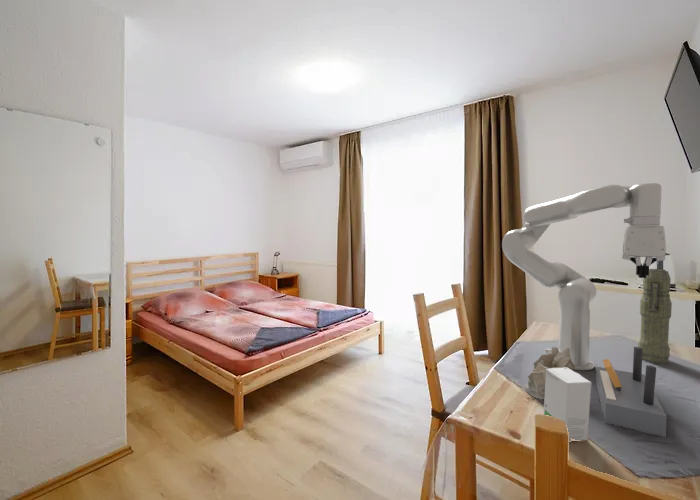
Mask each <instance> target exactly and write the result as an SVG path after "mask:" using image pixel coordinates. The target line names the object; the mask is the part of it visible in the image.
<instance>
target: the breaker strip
mask: <svg viewBox="0 0 700 500" xmlns="http://www.w3.org/2000/svg"><path fill="white" fill-rule="evenodd" d="M614 370H615V372H616V374H617V376H618V378H619V380H620V383H621V386H622V387H621V390H620V391H619V390H618V388H617V387H616V388H615V386H614V384H613V382H612V380H611V379H610V377H609V375H608V373H607V371H606V369H605V367H601V366H600V367H599V366H596V379H595V380H596V388H597V391H598V396H599V401H600V405H601V411H602V415H604V416H603V420H604V423H605V424H608V423H609V425H612V424H614V425H613V426H617V425H618V426H617V427H621V426H623V427H622V428H625V427H627V428H626V429H629V428H630V430H633V429H634V431H638V432H643V433H647V434H651V435H653V436H654V435H655V436H659V437H663V438H666V436H667V418H668V417H667V414H666V412H665V410H664V408H663V407H662V405H661V403H660V400H659V399H658V397H657V395H656V394H655V393H654V402H653V405H648V404H645V403H644V402H643V398H644V385H645V374H642V377H641V381H635V380H633V372H630V371H625V370H618V369H614Z"/></svg>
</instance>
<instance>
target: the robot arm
mask: <svg viewBox="0 0 700 500" xmlns="http://www.w3.org/2000/svg"><path fill="white" fill-rule="evenodd" d="M625 207H626V208H627V207H629V217H628V218H624V219H623V223H624V224H628V226H626V229H625V231H624V236H623V237H624V238H623V243H622V244H623V245H622V256H621V258H622V259H623V260H627V261H630V262H632V263H633V264H634V265H635V266H636V267H635V275H636V276H637V277H638V278H639V279H643V278H646V275H648V276H649V269H650V266H651V265H653V264H654V263H655V262H659V261H660V262H661V261H665V260H666V256H665V255H666V251H667V245H666V231H665V226H664V225H661V213H662V212H661V208H662V186H661V184H659V183H657V182H650V183H649V182H647V183H639V184H634V185H632V186H629V185H628V186H627V185H626V186H624V185H620V184H609V185H604V186H599V187H596V188H592V189H588V190H585V191H581V192H578V193H575V194H573V195H572V194H571V195H568V196H565V197H560V198H557V199H554V200H550V201H546V202H543V203H540V204H539V203H538V204H535V205H532V206H530V207H527V208H526V209H525V210H524V212H523V215H522V216H523V217H522V218H523V221H524V225H523V226H522V227H521V228H517V229H513V230H512V229H511V230H510V231H508V232H507V233H505V234H504V236H503V237H502V241H501V248H502V252H503V254H504V256H505V257H506V258H507V260H509V262H511V263H512V264H513V265H515V266H516V267H518V268H519V269H520V270H521V271H523V272H524V273H525V274H526V275H528V276H529V277H531V278H532V279H533V280H535V281H536V282H537V283H538V284H539V285H542V286H543V287H545V288H555V287H556V288H557V289H558V290H559V291H558V297H557V298H558V299H557V300H558V309H559V327H558V328H559V329H558V331H559V332H558V333H559V334H558V335H559V336H558V347H557V348H558V350H559V352H561V353H562V352H563V350H565V348H570V351H569V353H570V358H571V361H572V363H573V364H574V365H575V369H574V371H590V370H591V371H592V370H593V369H594V368H595V364H594V362H593V361H592V360H590V339H591V337H590V336H591V335H590V334H591V314H590V312H591V311H590V309H591V308H590V302H592V301H593V300H594V299H595V298H596V296H597V288H596V286H595V284H594V283H593V282H592V281H591V280H590V279H588V278H586V277H585V276H583V275H582V274H581V273H579V272H577V271H576V270H574V269H573V268H571V267H570V266H568V265H566V264H564V263H562V262H558V261H552V262H550V261H548V260H546V259H544V258H543V257H541V256H540V255H539V254H537V253H535V252H533V251H532V250H530V248H532V247H533V246H534V245H535V244H536V243H537V242H538V241H539V240H540V238H541V237H542V236H543V234H544V233H545V232H546V231H547V229H548V228H549V227H550V225H551V224H556V223H560V222H563V221H569V220H573V219H576V218H577V217H579V216H582V215H584V214H588V213H593V212H597V211H601V210H606V209H612V208H614V209H619V208H625ZM641 257H643V258H644V257H645V258H644V262H643V263H642V261H641ZM551 350H552V348H545V354H551Z"/></svg>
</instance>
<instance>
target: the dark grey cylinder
mask: <svg viewBox="0 0 700 500" xmlns="http://www.w3.org/2000/svg"><path fill="white" fill-rule="evenodd" d="M642 352H643V348H640V347H638V346H633V359H632V360H633V361H632V362H633V363H632V365H633V366H632V373H633V380H635V381H641V377H642V373H643V360H642Z"/></svg>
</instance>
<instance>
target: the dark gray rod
mask: <svg viewBox="0 0 700 500" xmlns="http://www.w3.org/2000/svg"><path fill="white" fill-rule="evenodd" d="M656 374H657V367H656V366H654V365H650V364H648V365H646V366H645V374H644V375H645V385H644V398H643V402H644V403H645V404H648V405H653V402H654V394H655V389H656V388H655V387H656V379H657V378H656V376H657V375H656Z"/></svg>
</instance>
